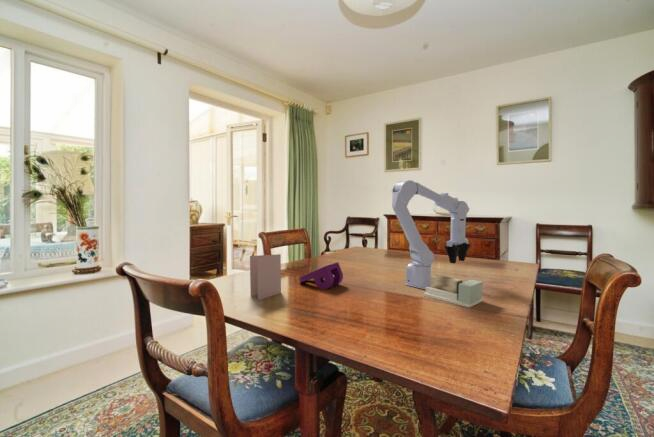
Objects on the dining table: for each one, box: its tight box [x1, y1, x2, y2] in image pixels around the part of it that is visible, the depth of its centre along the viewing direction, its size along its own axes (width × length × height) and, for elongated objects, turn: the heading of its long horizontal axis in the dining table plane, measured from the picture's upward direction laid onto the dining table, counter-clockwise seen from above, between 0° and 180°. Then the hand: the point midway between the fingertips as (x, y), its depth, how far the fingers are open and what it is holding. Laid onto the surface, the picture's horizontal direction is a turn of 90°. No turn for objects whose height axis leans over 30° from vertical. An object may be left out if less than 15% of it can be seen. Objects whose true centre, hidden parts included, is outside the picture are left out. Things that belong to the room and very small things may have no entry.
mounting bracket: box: [298, 261, 344, 290], centre depth 134 cm, size 10×8×18 cm
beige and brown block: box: [430, 274, 464, 294], centre depth 116 cm, size 10×4×6 cm, turn 41°
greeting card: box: [249, 253, 282, 301], centre depth 117 cm, size 11×7×15 cm, turn 108°
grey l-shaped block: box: [423, 279, 483, 308], centre depth 114 cm, size 17×10×7 cm, turn 41°
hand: (457, 261), depth 133 cm, fingers open, 7 cm apart
